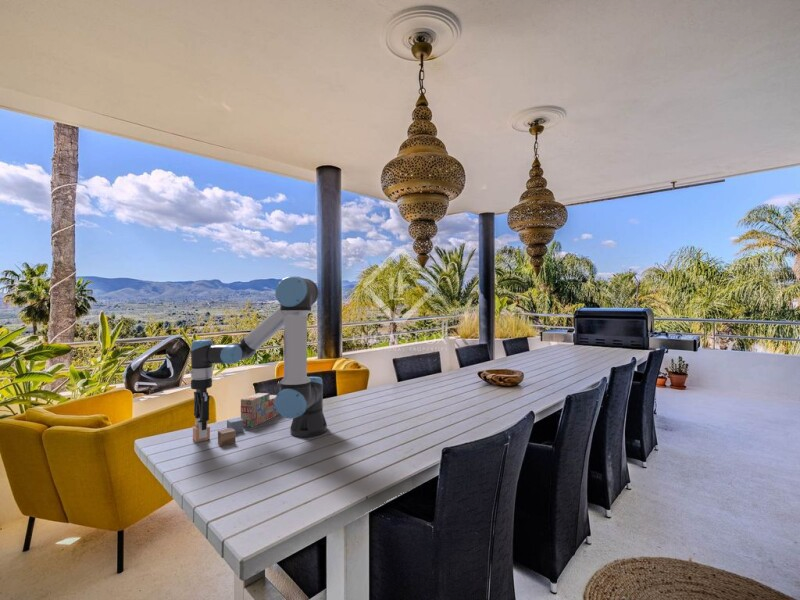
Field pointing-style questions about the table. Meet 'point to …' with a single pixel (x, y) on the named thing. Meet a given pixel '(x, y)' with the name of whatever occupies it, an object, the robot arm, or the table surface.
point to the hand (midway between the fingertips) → (201, 435)
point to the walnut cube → (226, 437)
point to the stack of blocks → (257, 408)
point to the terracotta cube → (196, 434)
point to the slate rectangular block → (235, 424)
